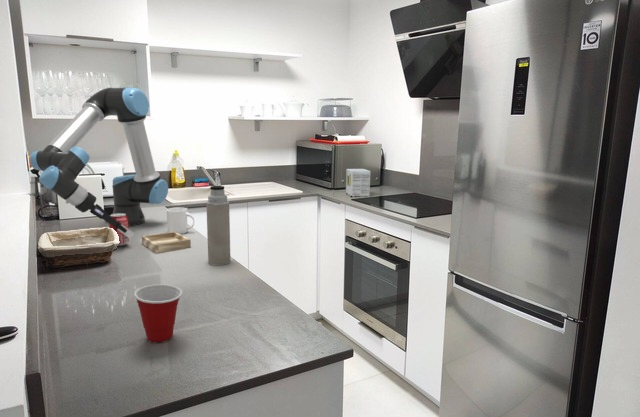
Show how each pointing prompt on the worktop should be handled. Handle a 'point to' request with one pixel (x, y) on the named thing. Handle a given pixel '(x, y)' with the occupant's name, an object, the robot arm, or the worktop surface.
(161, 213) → the worktop surface
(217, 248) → the thermos bottle
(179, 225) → the mug
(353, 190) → the supplement box
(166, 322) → the plastic cup
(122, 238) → the soda can
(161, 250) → the tray
